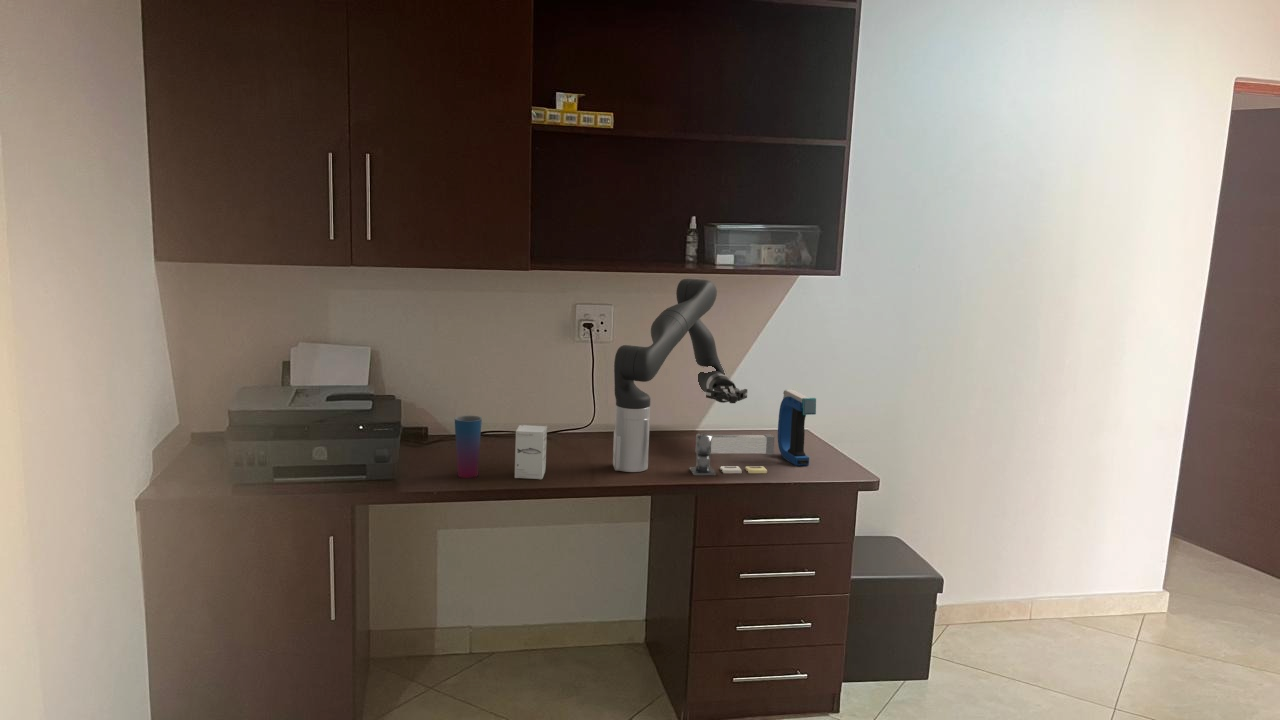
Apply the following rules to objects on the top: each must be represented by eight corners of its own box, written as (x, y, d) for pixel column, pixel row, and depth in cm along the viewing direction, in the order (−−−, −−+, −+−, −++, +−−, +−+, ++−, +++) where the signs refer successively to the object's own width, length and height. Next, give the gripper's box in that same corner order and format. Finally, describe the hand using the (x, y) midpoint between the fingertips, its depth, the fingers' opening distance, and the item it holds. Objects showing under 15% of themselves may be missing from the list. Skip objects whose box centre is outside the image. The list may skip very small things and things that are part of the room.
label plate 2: (748, 473, 252) (749, 470, 252) (745, 469, 256) (745, 465, 255) (766, 473, 252) (767, 470, 252) (763, 469, 256) (763, 466, 256)
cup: (455, 471, 243) (456, 415, 241) (482, 471, 244) (482, 415, 241) (452, 478, 237) (452, 421, 234) (479, 479, 237) (480, 421, 235)
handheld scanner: (798, 468, 258) (804, 398, 255) (774, 453, 273) (780, 387, 270) (813, 468, 259) (819, 398, 256) (789, 453, 275) (794, 387, 272)
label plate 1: (723, 473, 251) (723, 469, 251) (720, 469, 255) (720, 465, 255) (741, 473, 251) (741, 470, 251) (738, 469, 255) (738, 465, 255)
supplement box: (513, 478, 239) (514, 430, 237) (518, 470, 246) (519, 424, 244) (542, 480, 238) (543, 431, 236) (546, 472, 246) (547, 425, 244)
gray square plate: (693, 475, 248) (694, 457, 247) (689, 469, 254) (690, 451, 253) (715, 475, 248) (716, 457, 248) (711, 469, 254) (712, 451, 254)
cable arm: (697, 454, 248) (697, 437, 247) (694, 450, 252) (694, 433, 251) (774, 455, 250) (775, 437, 250) (769, 450, 255) (770, 433, 254)
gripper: (699, 375, 280) (711, 386, 264) (742, 375, 282) (756, 387, 265) (698, 399, 282) (709, 412, 265) (741, 399, 283) (755, 412, 266)
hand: (733, 399), depth 265 cm, fingers closed
